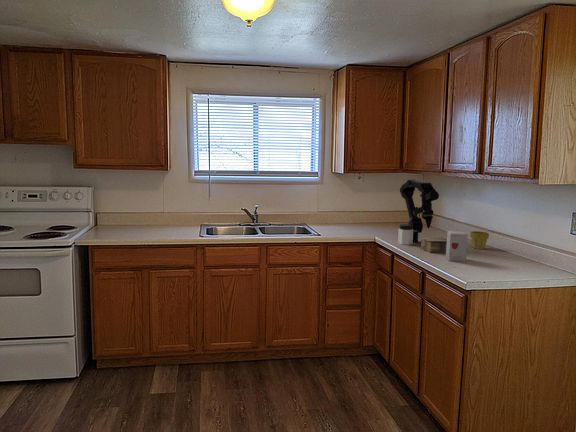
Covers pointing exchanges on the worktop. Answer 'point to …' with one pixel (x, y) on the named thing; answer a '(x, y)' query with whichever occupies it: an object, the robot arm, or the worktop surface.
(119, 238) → the worktop surface
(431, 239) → the lid
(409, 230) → the jar
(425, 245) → the cardboard box
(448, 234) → the supplement box
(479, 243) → the plant pot
